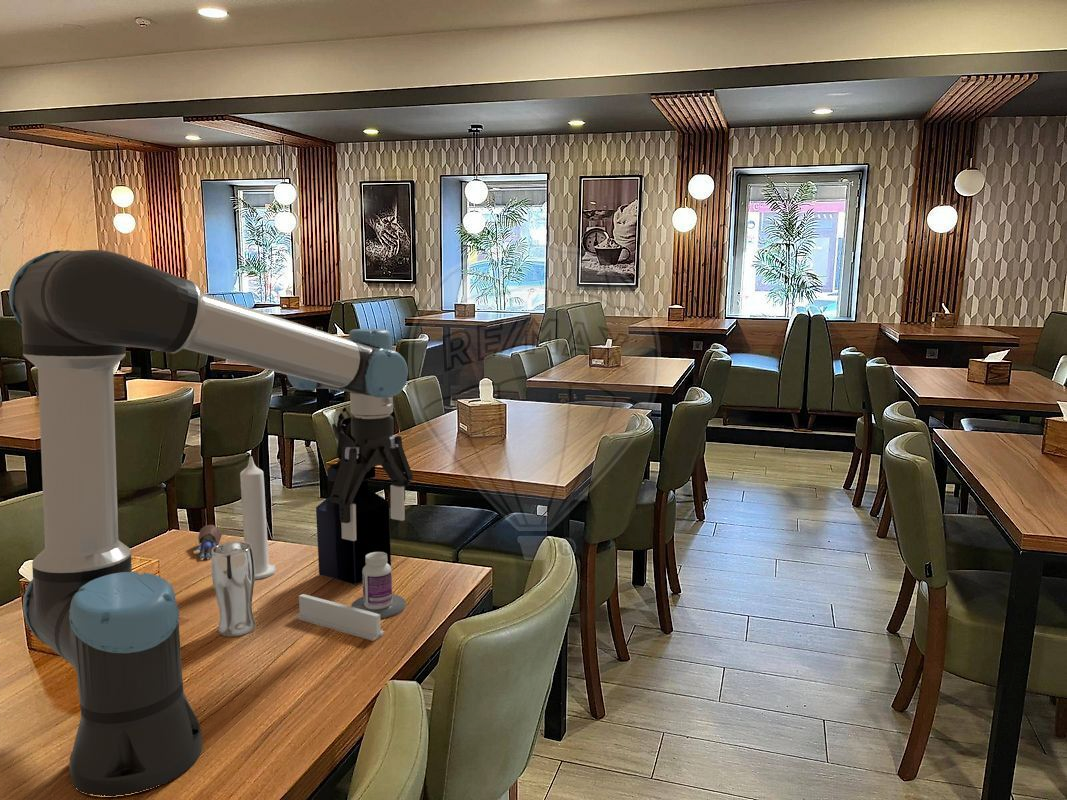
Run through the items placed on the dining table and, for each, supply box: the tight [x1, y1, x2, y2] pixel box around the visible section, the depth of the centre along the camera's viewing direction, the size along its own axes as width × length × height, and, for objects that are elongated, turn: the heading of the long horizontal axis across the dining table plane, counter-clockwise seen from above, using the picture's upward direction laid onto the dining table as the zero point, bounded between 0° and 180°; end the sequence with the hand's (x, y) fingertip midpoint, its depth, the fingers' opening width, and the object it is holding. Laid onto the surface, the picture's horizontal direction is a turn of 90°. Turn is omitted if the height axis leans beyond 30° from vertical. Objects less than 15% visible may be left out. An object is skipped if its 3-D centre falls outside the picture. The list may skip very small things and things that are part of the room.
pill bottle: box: [362, 552, 393, 610], centre depth 145 cm, size 5×5×10 cm
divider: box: [295, 593, 386, 642], centre depth 137 cm, size 3×18×4 cm, turn 62°
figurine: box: [193, 524, 223, 559], centre depth 175 cm, size 6×5×12 cm
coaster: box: [350, 593, 407, 620], centre depth 146 cm, size 10×10×1 cm
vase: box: [315, 407, 392, 586], centre depth 162 cm, size 14×12×35 cm
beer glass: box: [210, 540, 256, 638], centre depth 135 cm, size 7×7×15 cm
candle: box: [239, 456, 277, 580], centre depth 160 cm, size 7×7×25 cm
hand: (374, 529), depth 143 cm, fingers open, 13 cm apart
